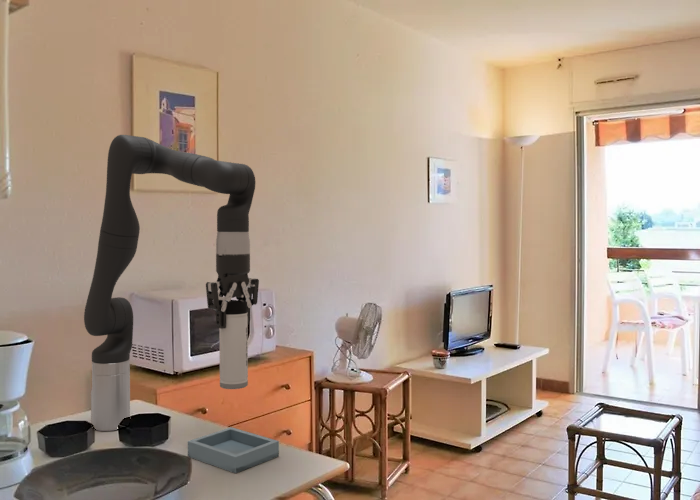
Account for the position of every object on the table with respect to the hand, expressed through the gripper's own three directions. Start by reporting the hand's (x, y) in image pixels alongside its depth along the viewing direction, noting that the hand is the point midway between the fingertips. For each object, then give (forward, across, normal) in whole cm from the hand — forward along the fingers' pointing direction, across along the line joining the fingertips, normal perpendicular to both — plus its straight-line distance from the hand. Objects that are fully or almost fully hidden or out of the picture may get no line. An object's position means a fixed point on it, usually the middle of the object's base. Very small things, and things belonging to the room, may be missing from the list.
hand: (233, 326), depth 147 cm
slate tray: (+30, 0, 0) cm, 30 cm away
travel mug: (+14, 0, 0) cm, 14 cm away
